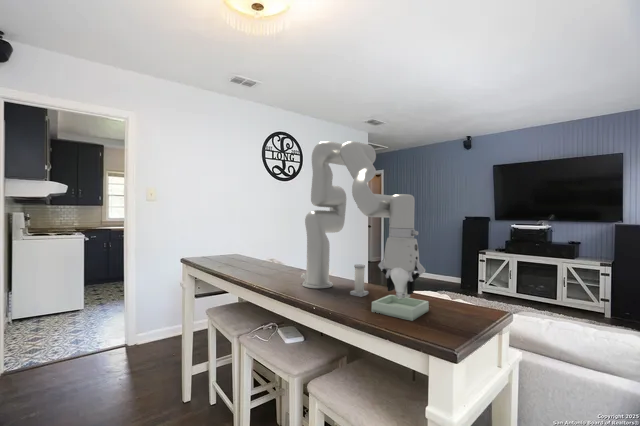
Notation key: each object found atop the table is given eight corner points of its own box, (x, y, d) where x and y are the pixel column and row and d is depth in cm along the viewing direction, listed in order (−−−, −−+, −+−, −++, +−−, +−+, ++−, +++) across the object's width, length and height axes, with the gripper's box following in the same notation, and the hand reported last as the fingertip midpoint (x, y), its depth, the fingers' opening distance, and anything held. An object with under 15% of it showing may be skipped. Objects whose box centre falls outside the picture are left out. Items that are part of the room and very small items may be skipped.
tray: (371, 311, 98) (371, 301, 98) (390, 303, 108) (390, 294, 108) (412, 321, 90) (412, 310, 90) (428, 310, 100) (428, 301, 100)
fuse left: (349, 294, 120) (350, 265, 120) (357, 292, 124) (357, 263, 124) (361, 296, 117) (362, 266, 117) (368, 294, 120) (368, 265, 121)
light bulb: (389, 301, 97) (390, 265, 97) (389, 295, 103) (390, 261, 103) (412, 303, 95) (413, 266, 95) (410, 297, 102) (411, 263, 102)
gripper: (433, 235, 97) (432, 294, 97) (382, 232, 108) (381, 286, 108) (424, 235, 91) (423, 299, 91) (371, 233, 102) (370, 289, 102)
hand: (400, 291), depth 99 cm, fingers closed on light bulb, 5 cm apart
